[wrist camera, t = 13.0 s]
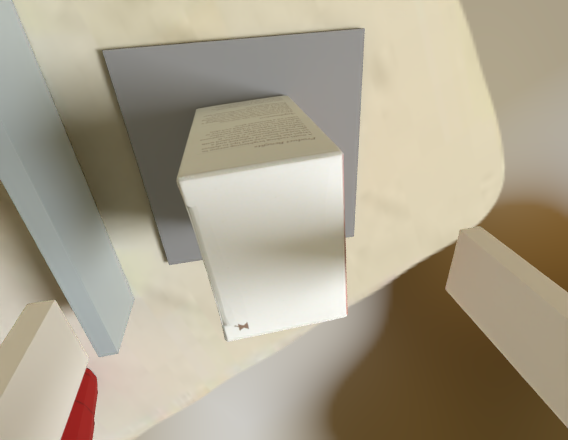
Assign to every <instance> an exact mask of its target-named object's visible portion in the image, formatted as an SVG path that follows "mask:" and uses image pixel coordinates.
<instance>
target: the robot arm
mask: <svg viewBox="0 0 568 440" xmlns="http://www.w3.org/2000/svg"><path fill="white" fill-rule="evenodd" d="M445 289H446V290H447V292H448V293H449V294H450V295H451V296H452V297H453V298H454V300H455V301H456V302H457V303H458V304H459V305H460V306H461V307H462V308H463V310H464V311H465V312H466V313H467V314H468V315H469V317H470V318H471V319H472V320H473V321H474V322H475V323H476V324H477V326H478V327H479V328H480V329H481V330H482V331H483V332H484V333H485V335H486V336H487V337H488V338H489V339H490V340H491V341H492V343H493V344H494V345H495V346H496V347H497V348H498V349H499V351H500V352H501V353H502V354H503V355H504V356H505V357H506V359H507V360H508V361H509V362H510V363H511V364H512V365H513V366H514V368H515V369H516V370H517V371H518V372H519V373H520V374H521V375H522V377H523V378H524V379H525V380H526V381H527V382H528V384H530V386H531V387H532V388H533V389H534V390H535V391H536V393H537V394H538V395H539V396H540V397H541V398H542V399H543V401H544V402H545V403H546V404H547V405H548V406H549V407H550V408H551V410H552V411H553V412H554V413H555V414H556V415H557V416H558V418H559V419H560V420H561V421H562V422H563V423H564V424H565V425H566V427H567V428H568V293H567V292H566V291H565V290H563V289H562V288H561V287H560V286H558V285H557V284H556V283H554V282H553V281H552V280H550V279H549V278H548V277H546V276H545V275H544V274H542V273H541V272H540V271H538V270H537V269H535V268H534V267H533V266H532V265H530V264H529V263H528V262H526V261H525V260H524V259H523V258H521V257H520V256H519V255H517V254H516V253H515V252H513V251H512V250H511V249H509V248H508V247H507V246H505V245H504V244H503V243H501V242H500V241H499V240H497V239H496V238H495V237H494V236H492V235H491V234H490V233H488V232H487V231H486V230H484V229H483V228H482V227H473V228H467V229H462V230H460V232H459V236H458V240H457V244H456V248H455V252H454V256H453V260H452V264H451V268H450V273H449V277H448V280H447V284H446V288H445ZM88 361H89V357H88V355H87V354H86V352H85V350H84V349H83V347H82V345H81V343H80V342H79V340H78V338H77V336H76V335H75V333H74V331H73V330H72V328H71V326H70V324H69V323H68V321H67V319H66V317H65V316H64V314H63V312H62V311H61V309H60V307H59V305H58V304H57V302H56V300H49V301H43V302H37V303H32V304H27V305H26V307H25V308H24V310H23V312H22V313H21V315H20V316H19V318H18V319H17V321H16V322H15V324H14V326H13V327H12V329H11V330H10V332H9V333H8V335H7V336H6V338H5V340H4V341H3V343H2V344H1V346H0V440H61V437H62V434H63V432H64V429H65V426H66V423H67V420H68V417H69V415H70V412H71V409H72V406H73V403H74V401H75V398H76V395H77V392H78V389H79V387H80V384H81V381H82V378H83V375H84V372H85V370H86V367H87V364H88Z"/></svg>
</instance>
